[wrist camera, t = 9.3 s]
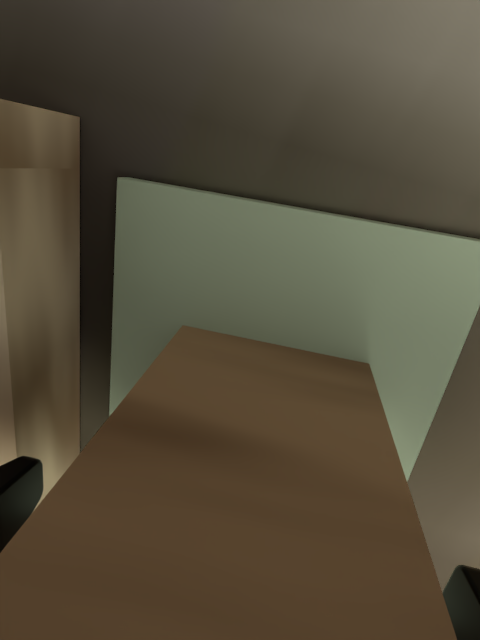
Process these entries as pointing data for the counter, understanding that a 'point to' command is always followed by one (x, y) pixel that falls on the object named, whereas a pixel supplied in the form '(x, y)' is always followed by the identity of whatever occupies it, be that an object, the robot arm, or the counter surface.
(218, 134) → the counter surface
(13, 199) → the beige flat rectangular frame
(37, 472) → the robot arm
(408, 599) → the walnut block
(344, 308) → the mat
